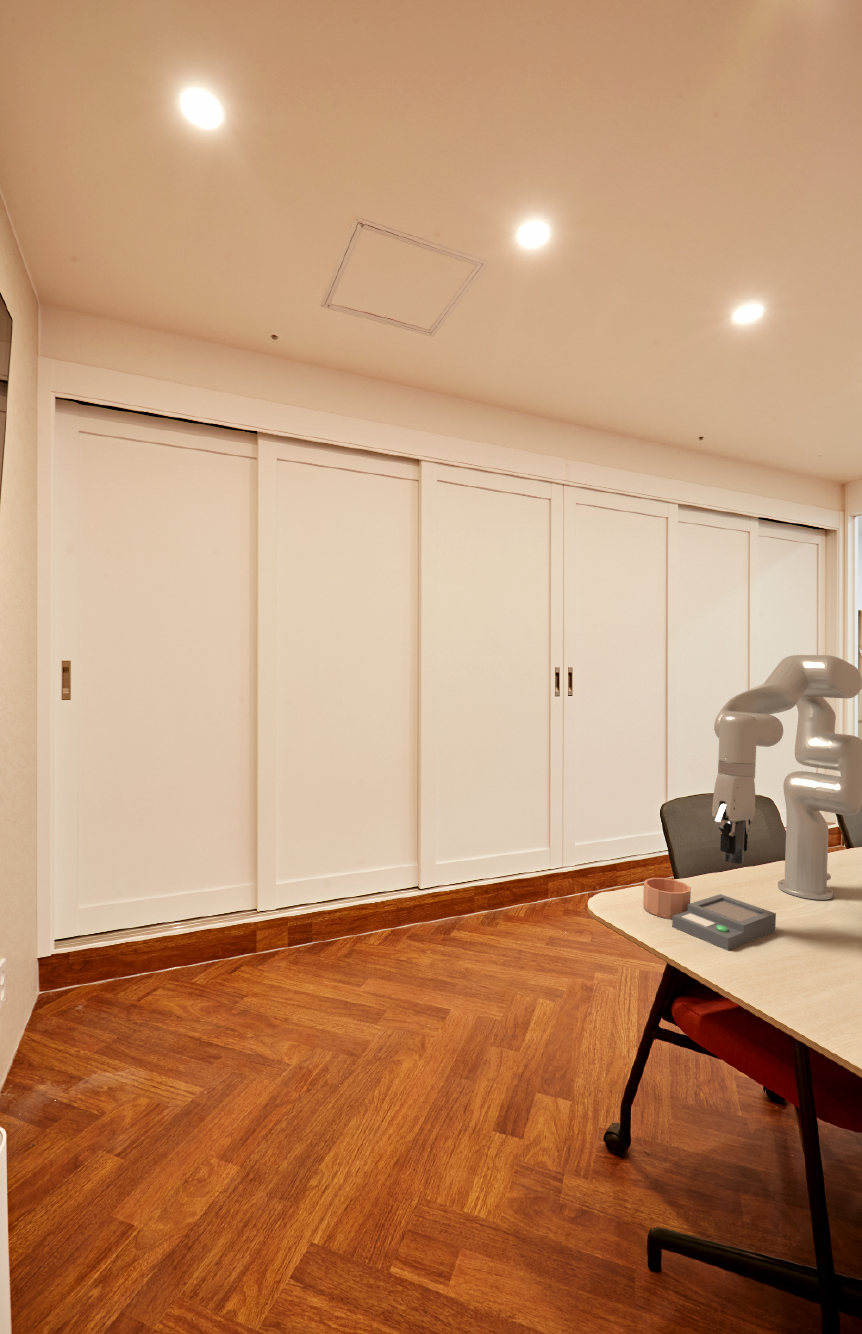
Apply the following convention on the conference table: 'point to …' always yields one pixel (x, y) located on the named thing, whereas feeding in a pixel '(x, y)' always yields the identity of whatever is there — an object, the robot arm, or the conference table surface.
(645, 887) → the cup
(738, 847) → the battery
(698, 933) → the grey button console
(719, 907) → the pad
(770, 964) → the conference table surface
